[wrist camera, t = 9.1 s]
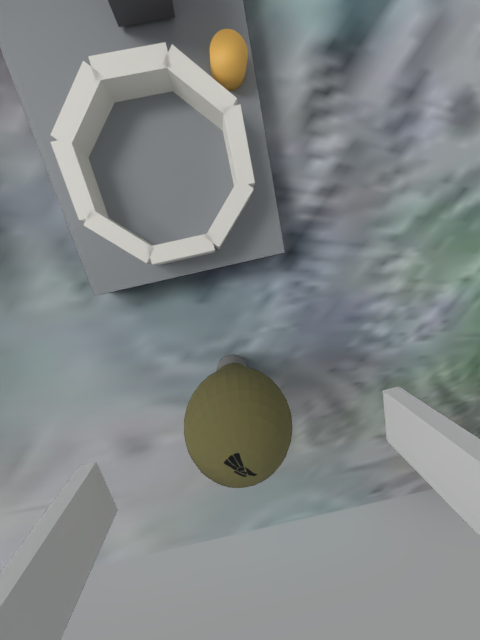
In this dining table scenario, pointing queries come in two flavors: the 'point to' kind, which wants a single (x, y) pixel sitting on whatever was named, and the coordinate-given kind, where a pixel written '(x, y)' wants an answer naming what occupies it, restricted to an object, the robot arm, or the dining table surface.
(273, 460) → the light bulb
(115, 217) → the breaker panel
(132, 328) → the dining table surface
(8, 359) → the dining table surface
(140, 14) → the tagged toggle
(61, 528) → the robot arm
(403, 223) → the dining table surface
